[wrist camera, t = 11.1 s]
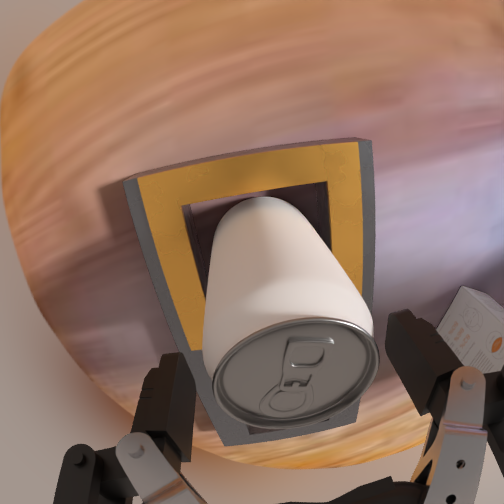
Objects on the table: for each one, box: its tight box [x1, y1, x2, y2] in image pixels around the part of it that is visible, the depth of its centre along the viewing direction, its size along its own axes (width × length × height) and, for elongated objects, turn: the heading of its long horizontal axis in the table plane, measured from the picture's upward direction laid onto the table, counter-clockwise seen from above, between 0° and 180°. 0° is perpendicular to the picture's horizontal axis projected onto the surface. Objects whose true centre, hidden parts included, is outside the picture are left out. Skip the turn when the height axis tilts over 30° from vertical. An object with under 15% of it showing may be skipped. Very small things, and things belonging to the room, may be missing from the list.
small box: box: [436, 286, 504, 374], centre depth 20 cm, size 8×6×10 cm
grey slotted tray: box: [123, 137, 375, 446], centre depth 22 cm, size 27×14×3 cm, turn 9°
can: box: [202, 197, 379, 429], centre depth 14 cm, size 6×6×12 cm
